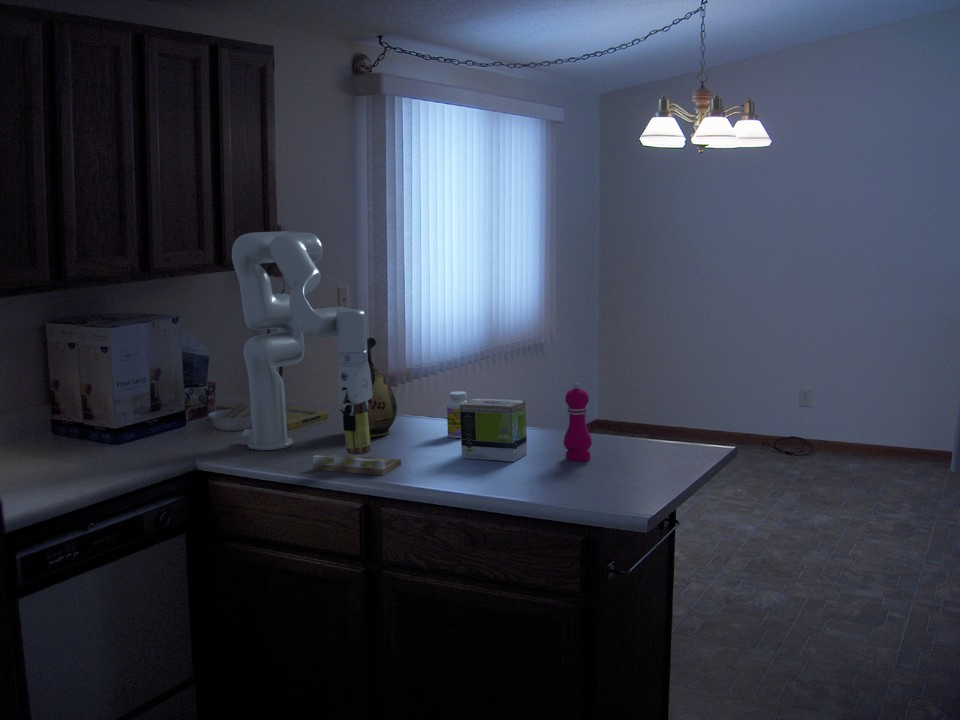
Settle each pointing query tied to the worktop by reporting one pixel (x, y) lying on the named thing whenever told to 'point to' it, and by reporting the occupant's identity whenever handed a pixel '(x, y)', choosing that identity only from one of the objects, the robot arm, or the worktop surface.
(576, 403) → the pepper mill
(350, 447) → the sauce bottle
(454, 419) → the supplement bottle
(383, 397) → the ceramic jug
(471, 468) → the worktop surface
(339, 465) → the tan white-edged panel
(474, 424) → the tea box
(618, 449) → the worktop surface
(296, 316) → the robot arm
